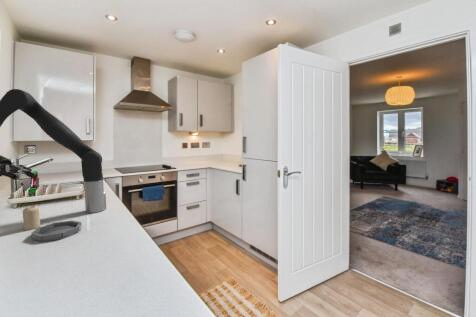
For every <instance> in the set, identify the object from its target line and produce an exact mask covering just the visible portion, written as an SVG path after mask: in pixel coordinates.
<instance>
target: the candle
mask: <svg viewBox="0 0 476 317" xmlns="http://www.w3.org/2000/svg"><path fill="white" fill-rule="evenodd" d="M22 218H23V219H22V220H23V229H24V230H25V231H29V230H31V231H32V230H36V229H37V228H39V227H41V219H40V207H37V206H36V205H31V206H29V205H27V206H26V207H25V208H24V209H23V210H22Z"/></svg>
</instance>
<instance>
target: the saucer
mask: <svg viewBox="0 0 476 317" xmlns="http://www.w3.org/2000/svg"><path fill="white" fill-rule="evenodd" d="M82 226H83V225H82V221H76V220H65V221H56V222H51V223H48V224H46V225H42V226H40V227H39V228H36V229H34V231H32V232H31V234H30V235H31V238H32V239H33V240H34V241H35V242H52V241H57V240H58V241H59V240H62V239H66V238H69V237H72V236H74V235H76V234H79V232H81V230H82V228H81V227H82Z"/></svg>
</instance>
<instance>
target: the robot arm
mask: <svg viewBox="0 0 476 317" xmlns="http://www.w3.org/2000/svg"><path fill="white" fill-rule="evenodd" d="M19 110H20V111H22V112H23V113H24V114H26V115H27V116H29V117H30V118H31V119H33V121H34V122H36V123H37V125H38V126H39V127H40V128H41V130H42V131H43V132H44V133H45V135H47V136H48V137H49V138H51V139H52V140H53V141H54V142H56V143H57V144H59V145H60V146H63V147H64V148H66V149H68V150H69V151H72V153H74V154H75V155H76V156H77V157H78V158H79V159H80V160H81V161H80V163H81V174H82V179H83V189H84V191H83V192H84V204H85V205H84V208H85V213H87V214H94V213H99V212H103V211H105V210H107V194H106V191H105V188H104V175H103V164H102V163H103V156H102V155H101V153H99V152H98V151H97V150H95V149H93V148H91V147H90V146H89V145H88V144H86V143H85V142H84V141H83V140H82V139H81V137H79V136H78V134H76V133H75V132H74V131H73V130H72V129H70V127H68V126H67V125H66V124H65V123H64V122H63V121H62V120H60V119H59V118H58V117H56V116H55V115H53V114H52V113H50V112H49V111H47V110H46V109H45V108H44V107H43V106H42V105H41V104H40V103H39V102H38V101H37V99H36V98H35V97H34V96H33V95H32V94H30V93H29V92H27V91H25V90H22V89H19V88H12V89H9V90H8V91H6V93H5V94H4V95H3V96H2V97H1V98H0V128H1V127H2V125H3V124H4V122H5V121H6V120H7V119H8V117H10V116H11V115H12V114H14V113H16V112H17V111H19ZM32 171H33V168H32V169H31V168H29V167H27V166H25V165H22V164H19V165H16V164H13V163H12V160H11V159H9V158H8V157H5V156H3V155H1V154H0V177H2V176H3V177H5V178H10V179H11V180H14V181H15V180H18V177H19V175H20V176H21V175H23V176H27V177H28V178H31V179H35V177H36V175H37V174H36V173H35V172H32Z"/></svg>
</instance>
